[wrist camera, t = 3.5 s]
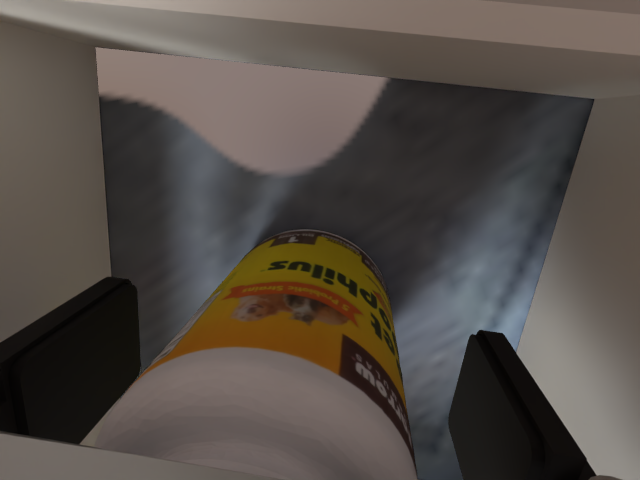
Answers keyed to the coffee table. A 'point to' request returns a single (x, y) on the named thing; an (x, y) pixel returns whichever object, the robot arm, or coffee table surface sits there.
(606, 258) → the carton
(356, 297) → the supplement bottle
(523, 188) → the coffee table surface
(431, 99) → the coffee table surface
